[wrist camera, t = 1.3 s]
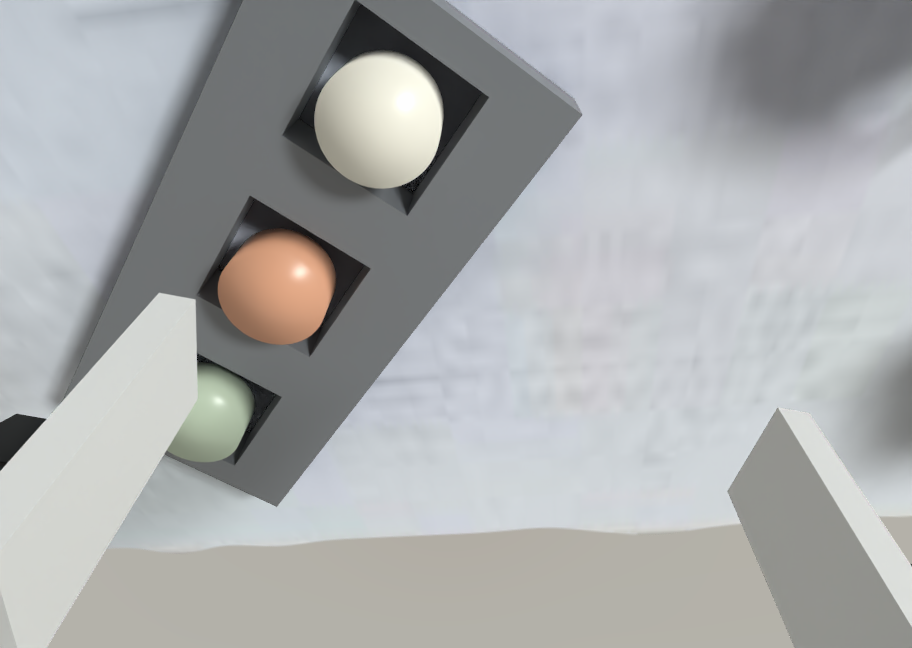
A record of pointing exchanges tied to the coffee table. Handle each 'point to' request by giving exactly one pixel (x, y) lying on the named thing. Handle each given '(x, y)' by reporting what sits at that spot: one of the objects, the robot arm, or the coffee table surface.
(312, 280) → the button terracotta
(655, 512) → the coffee table surface
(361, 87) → the button ivory
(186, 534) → the coffee table surface
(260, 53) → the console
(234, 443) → the button sage
